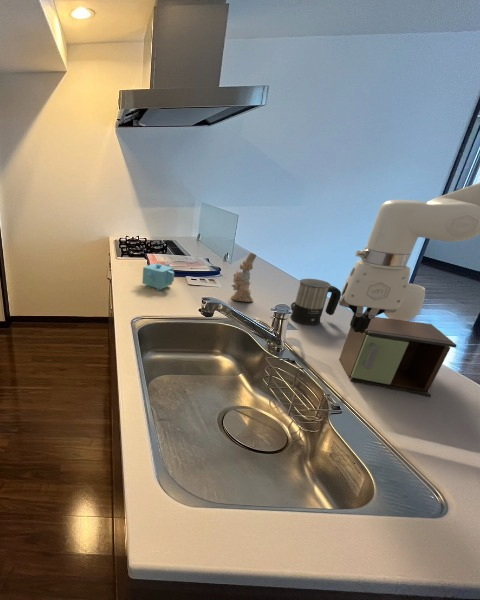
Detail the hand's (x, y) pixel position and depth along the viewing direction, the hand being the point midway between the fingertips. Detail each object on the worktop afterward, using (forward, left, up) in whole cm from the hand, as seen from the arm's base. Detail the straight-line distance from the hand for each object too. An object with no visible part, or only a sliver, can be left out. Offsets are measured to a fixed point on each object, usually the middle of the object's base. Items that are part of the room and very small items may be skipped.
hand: (357, 330), depth 78 cm
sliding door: (-7, -1, -15) cm, 17 cm away
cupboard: (-11, -9, -16) cm, 21 cm away
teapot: (+59, -56, -16) cm, 82 cm away
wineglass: (-17, -26, -16) cm, 35 cm away
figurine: (+23, -53, -16) cm, 60 cm away
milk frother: (+1, -44, -16) cm, 47 cm away
